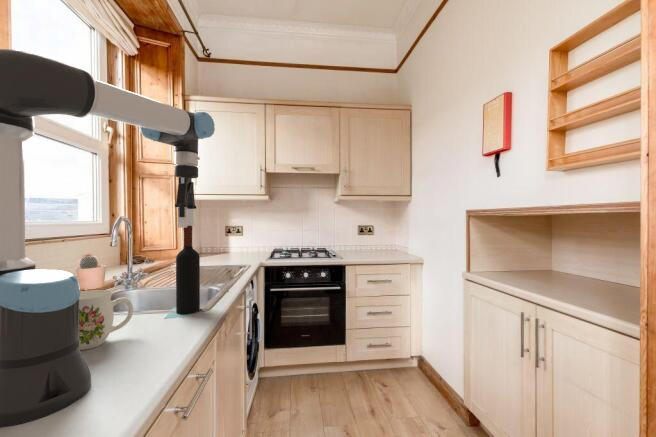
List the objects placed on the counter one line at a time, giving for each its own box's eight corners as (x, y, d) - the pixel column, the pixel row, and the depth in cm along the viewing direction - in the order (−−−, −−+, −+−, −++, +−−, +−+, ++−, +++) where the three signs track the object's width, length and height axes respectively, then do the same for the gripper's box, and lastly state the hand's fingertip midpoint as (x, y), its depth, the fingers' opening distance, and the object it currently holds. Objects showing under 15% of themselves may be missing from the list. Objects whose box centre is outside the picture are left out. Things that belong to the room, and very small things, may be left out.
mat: (203, 315, 103) (203, 315, 103) (164, 318, 100) (164, 318, 100) (208, 305, 115) (208, 305, 115) (173, 308, 112) (173, 307, 112)
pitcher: (136, 341, 82) (136, 290, 82) (45, 362, 71) (45, 302, 70) (130, 329, 91) (129, 283, 91) (47, 346, 79) (47, 293, 79)
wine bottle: (173, 315, 103) (173, 226, 103) (179, 308, 110) (178, 225, 110) (197, 313, 105) (197, 225, 104) (201, 307, 112) (201, 225, 112)
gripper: (191, 159, 96) (191, 227, 96) (203, 171, 120) (203, 226, 120) (165, 158, 94) (165, 228, 94) (182, 171, 118) (182, 226, 118)
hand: (186, 227), depth 107 cm, fingers open, 13 cm apart
